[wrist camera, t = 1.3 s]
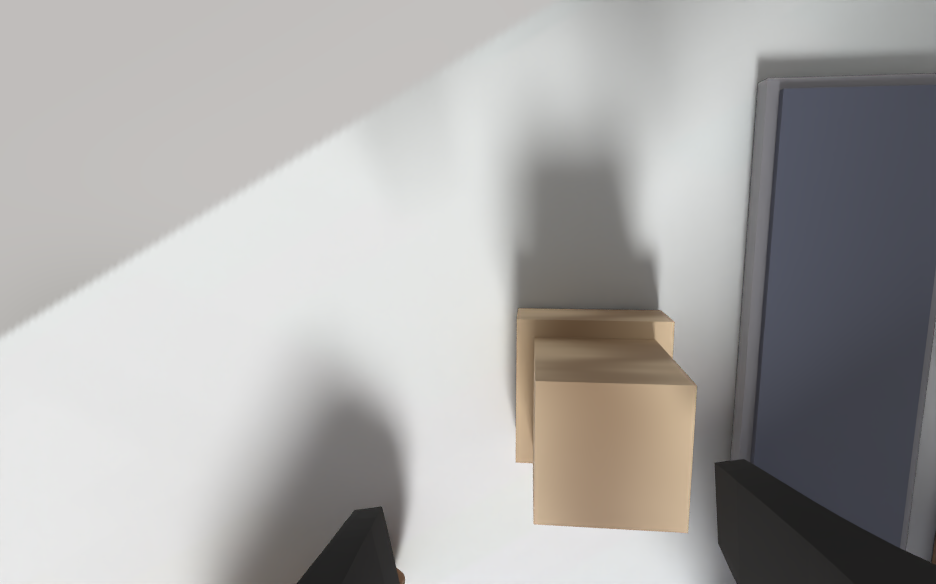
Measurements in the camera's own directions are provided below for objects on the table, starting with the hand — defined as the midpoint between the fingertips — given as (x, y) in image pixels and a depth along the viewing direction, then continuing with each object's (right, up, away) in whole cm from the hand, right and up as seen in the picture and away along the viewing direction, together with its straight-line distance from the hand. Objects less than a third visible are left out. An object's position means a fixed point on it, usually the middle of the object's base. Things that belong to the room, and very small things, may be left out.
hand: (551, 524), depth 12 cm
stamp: (+3, +2, +9) cm, 10 cm away
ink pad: (+11, +4, +8) cm, 14 cm away
